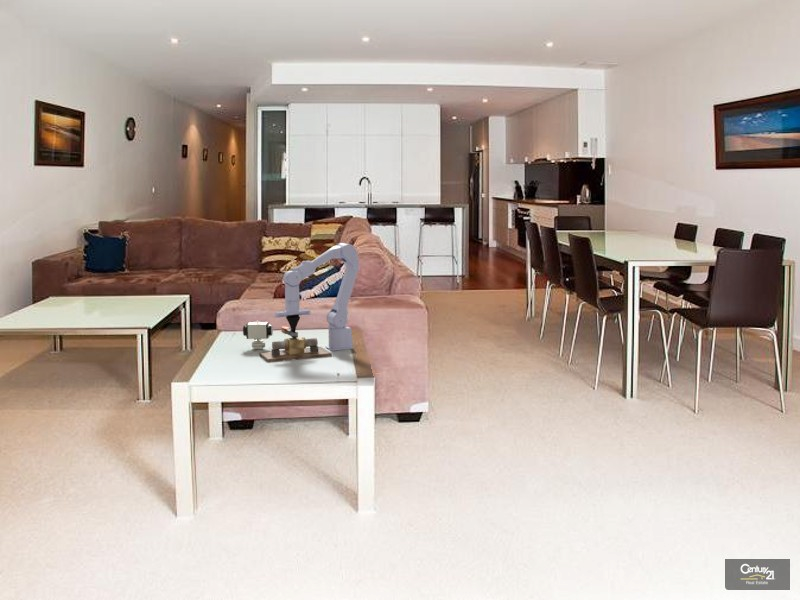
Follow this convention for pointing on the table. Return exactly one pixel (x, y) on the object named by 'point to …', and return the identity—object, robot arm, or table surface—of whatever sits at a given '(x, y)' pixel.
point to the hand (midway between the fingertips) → (293, 333)
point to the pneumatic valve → (258, 333)
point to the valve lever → (289, 332)
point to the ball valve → (294, 350)
